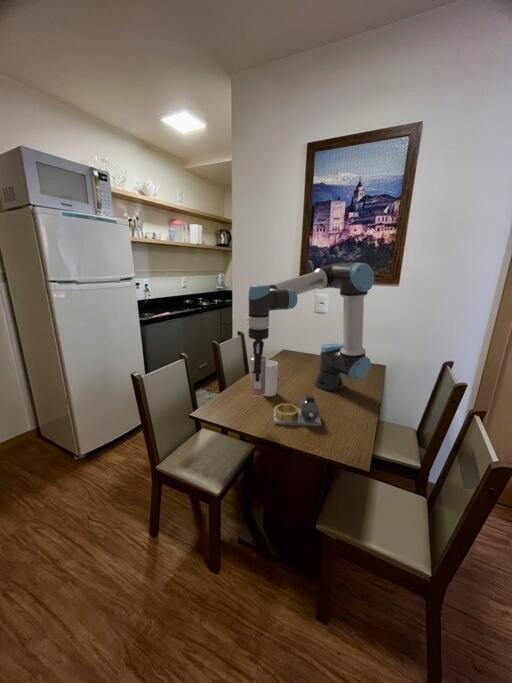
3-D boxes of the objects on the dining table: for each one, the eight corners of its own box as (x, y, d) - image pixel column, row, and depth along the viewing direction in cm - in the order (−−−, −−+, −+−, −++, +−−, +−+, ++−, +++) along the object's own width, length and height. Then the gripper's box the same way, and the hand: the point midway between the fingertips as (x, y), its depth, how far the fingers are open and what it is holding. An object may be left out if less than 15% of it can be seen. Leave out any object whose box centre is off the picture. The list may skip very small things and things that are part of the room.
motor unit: (316, 412, 122) (318, 391, 119) (321, 427, 111) (323, 404, 108) (273, 410, 123) (274, 389, 120) (274, 425, 111) (275, 402, 109)
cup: (278, 391, 142) (280, 361, 138) (272, 397, 135) (274, 366, 130) (263, 388, 145) (265, 359, 141) (257, 394, 138) (258, 364, 134)
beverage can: (249, 390, 112) (249, 355, 108) (264, 390, 113) (264, 355, 109) (250, 397, 107) (250, 360, 103) (265, 396, 107) (266, 360, 103)
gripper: (250, 321, 112) (249, 375, 118) (246, 333, 94) (246, 395, 100) (268, 322, 111) (267, 375, 118) (268, 333, 93) (267, 396, 100)
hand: (257, 384), depth 109 cm, fingers closed on beverage can, 6 cm apart
